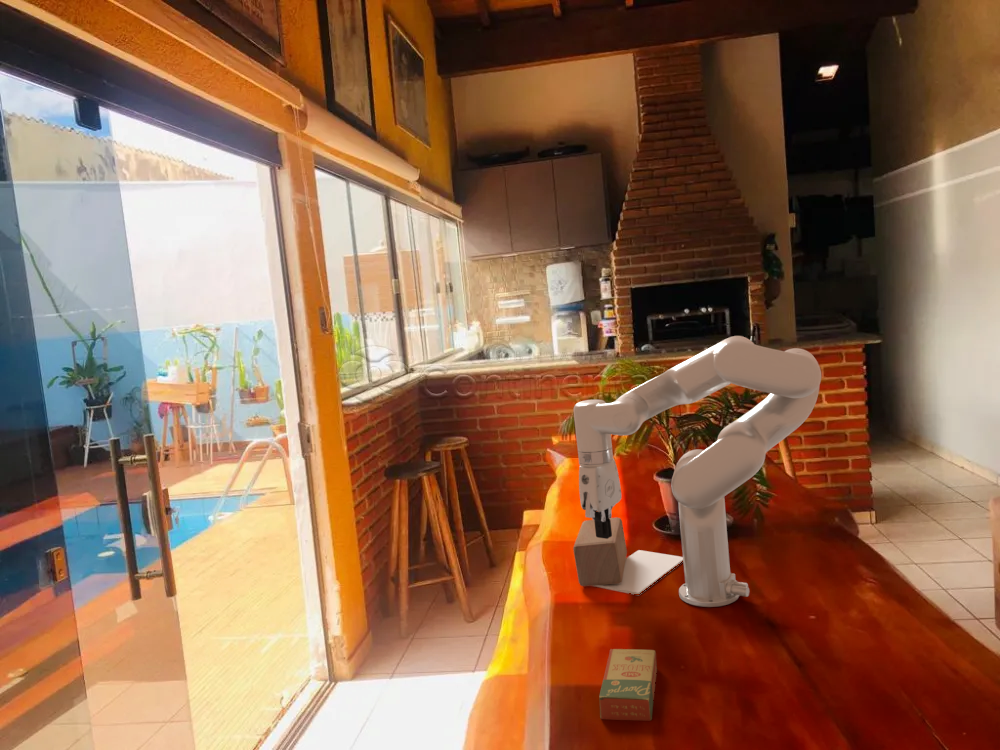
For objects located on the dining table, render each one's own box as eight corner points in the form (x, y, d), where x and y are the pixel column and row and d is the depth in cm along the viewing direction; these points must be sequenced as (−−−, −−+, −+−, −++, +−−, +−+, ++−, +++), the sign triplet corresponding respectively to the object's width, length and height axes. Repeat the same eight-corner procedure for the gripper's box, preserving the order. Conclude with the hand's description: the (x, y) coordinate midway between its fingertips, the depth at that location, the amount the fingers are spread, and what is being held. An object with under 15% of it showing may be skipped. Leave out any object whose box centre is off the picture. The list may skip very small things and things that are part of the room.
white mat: (685, 559, 184) (685, 557, 183) (638, 595, 167) (638, 592, 167) (638, 552, 192) (638, 549, 192) (589, 585, 175) (589, 582, 175)
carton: (658, 671, 136) (656, 648, 135) (652, 723, 120) (650, 698, 120) (611, 669, 138) (609, 647, 137) (600, 721, 123) (597, 696, 122)
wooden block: (615, 541, 170) (621, 515, 189) (571, 545, 172) (581, 519, 192) (622, 584, 171) (627, 554, 190) (579, 588, 173) (588, 558, 192)
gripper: (591, 466, 158) (600, 550, 160) (628, 449, 169) (636, 528, 171) (561, 464, 163) (570, 545, 165) (599, 447, 174) (607, 524, 176)
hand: (604, 536), depth 168 cm, fingers closed
